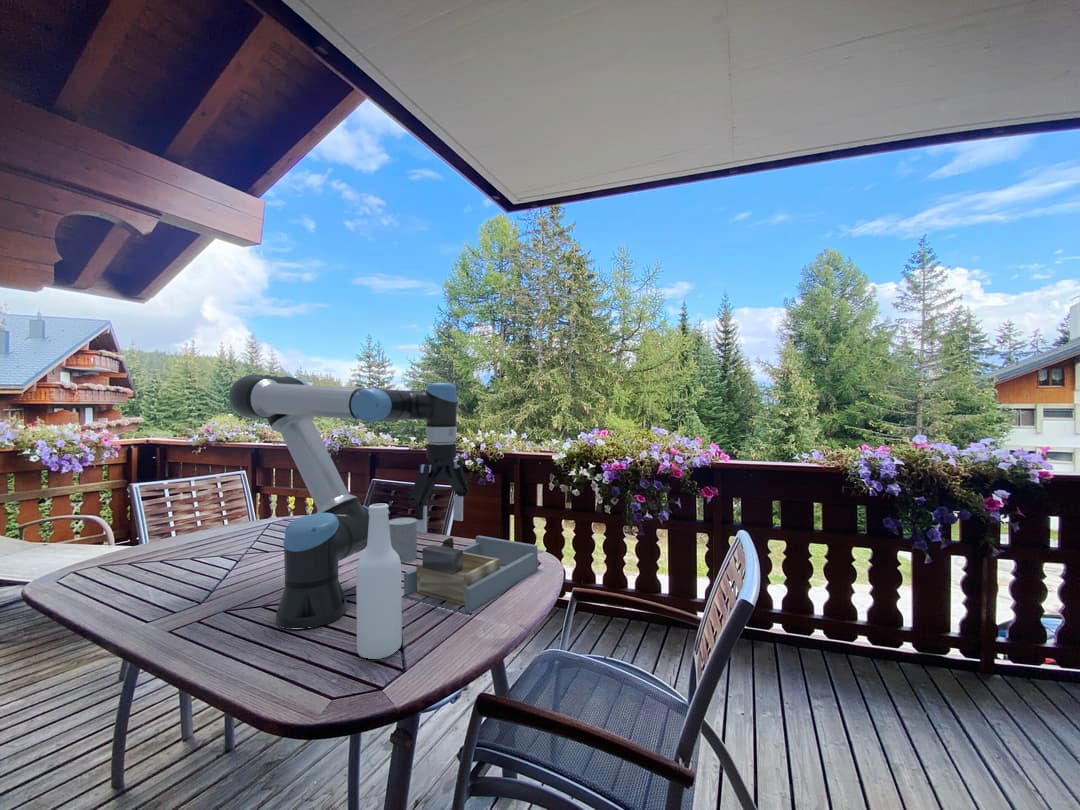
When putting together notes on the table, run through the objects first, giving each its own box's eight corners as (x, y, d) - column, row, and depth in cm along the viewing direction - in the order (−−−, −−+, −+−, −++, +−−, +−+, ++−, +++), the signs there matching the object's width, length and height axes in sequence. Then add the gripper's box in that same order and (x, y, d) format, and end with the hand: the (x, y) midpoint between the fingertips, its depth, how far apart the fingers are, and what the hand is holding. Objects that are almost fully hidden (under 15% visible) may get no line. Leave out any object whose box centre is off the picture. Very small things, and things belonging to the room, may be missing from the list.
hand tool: (433, 568, 143) (433, 553, 143) (422, 567, 144) (422, 552, 144) (460, 550, 162) (460, 536, 162) (449, 549, 163) (449, 536, 163)
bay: (470, 616, 109) (470, 581, 109) (404, 598, 120) (404, 565, 120) (537, 573, 137) (537, 545, 137) (478, 561, 148) (478, 535, 148)
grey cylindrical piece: (381, 561, 150) (381, 523, 150) (398, 552, 159) (398, 516, 159) (406, 563, 147) (406, 525, 147) (422, 554, 156) (422, 518, 156)
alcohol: (403, 656, 92) (401, 507, 92) (355, 665, 89) (354, 511, 89) (400, 636, 100) (399, 499, 100) (357, 643, 97) (356, 502, 97)
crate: (463, 608, 111) (463, 556, 111) (412, 594, 120) (412, 546, 120) (500, 586, 125) (499, 540, 125) (452, 575, 133) (451, 532, 133)
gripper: (416, 447, 105) (415, 540, 105) (482, 440, 126) (482, 517, 126) (393, 446, 108) (392, 535, 108) (461, 439, 130) (460, 514, 130)
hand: (440, 526), depth 117 cm, fingers open, 13 cm apart
